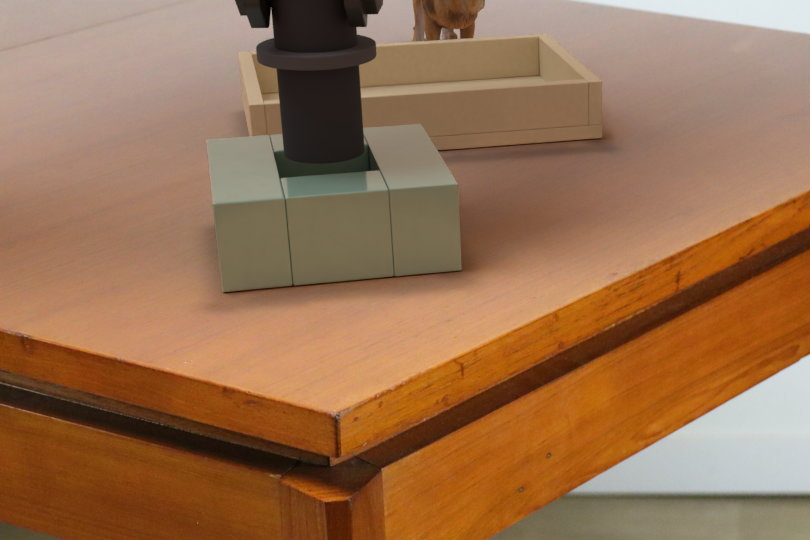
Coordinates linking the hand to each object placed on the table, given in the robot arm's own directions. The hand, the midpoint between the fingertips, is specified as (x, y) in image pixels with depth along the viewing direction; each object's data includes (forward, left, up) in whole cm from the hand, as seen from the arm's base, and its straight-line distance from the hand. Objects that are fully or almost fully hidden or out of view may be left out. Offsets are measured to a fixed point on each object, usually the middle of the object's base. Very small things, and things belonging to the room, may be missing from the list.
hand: (304, 15), depth 64 cm
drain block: (0, +2, -11) cm, 11 cm away
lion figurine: (+13, +39, -11) cm, 43 cm away
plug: (0, +2, -7) cm, 7 cm away
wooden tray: (+8, +23, -11) cm, 27 cm away
